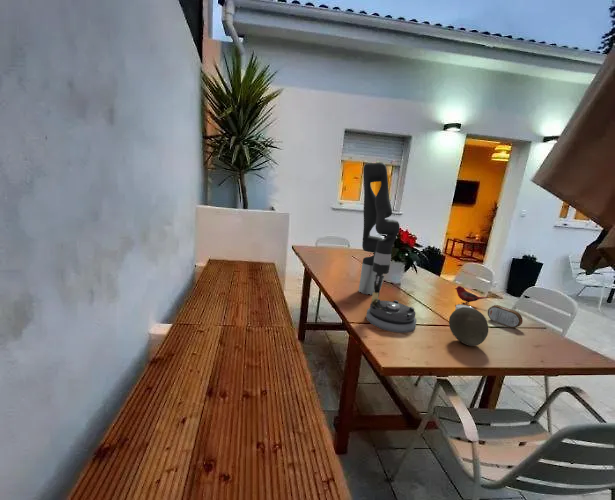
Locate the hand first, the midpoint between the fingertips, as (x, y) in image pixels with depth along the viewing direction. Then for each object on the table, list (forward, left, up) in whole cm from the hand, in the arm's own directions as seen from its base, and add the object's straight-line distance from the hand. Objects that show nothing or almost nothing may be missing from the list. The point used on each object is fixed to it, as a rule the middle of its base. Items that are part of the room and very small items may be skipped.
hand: (376, 297), depth 146 cm
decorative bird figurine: (-63, +25, -9) cm, 69 cm away
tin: (-47, +45, -9) cm, 66 cm away
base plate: (+1, +9, -9) cm, 13 cm away
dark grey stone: (-6, +39, -9) cm, 41 cm away
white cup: (-22, +33, -9) cm, 41 cm away
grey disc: (+1, +9, -5) cm, 11 cm away
